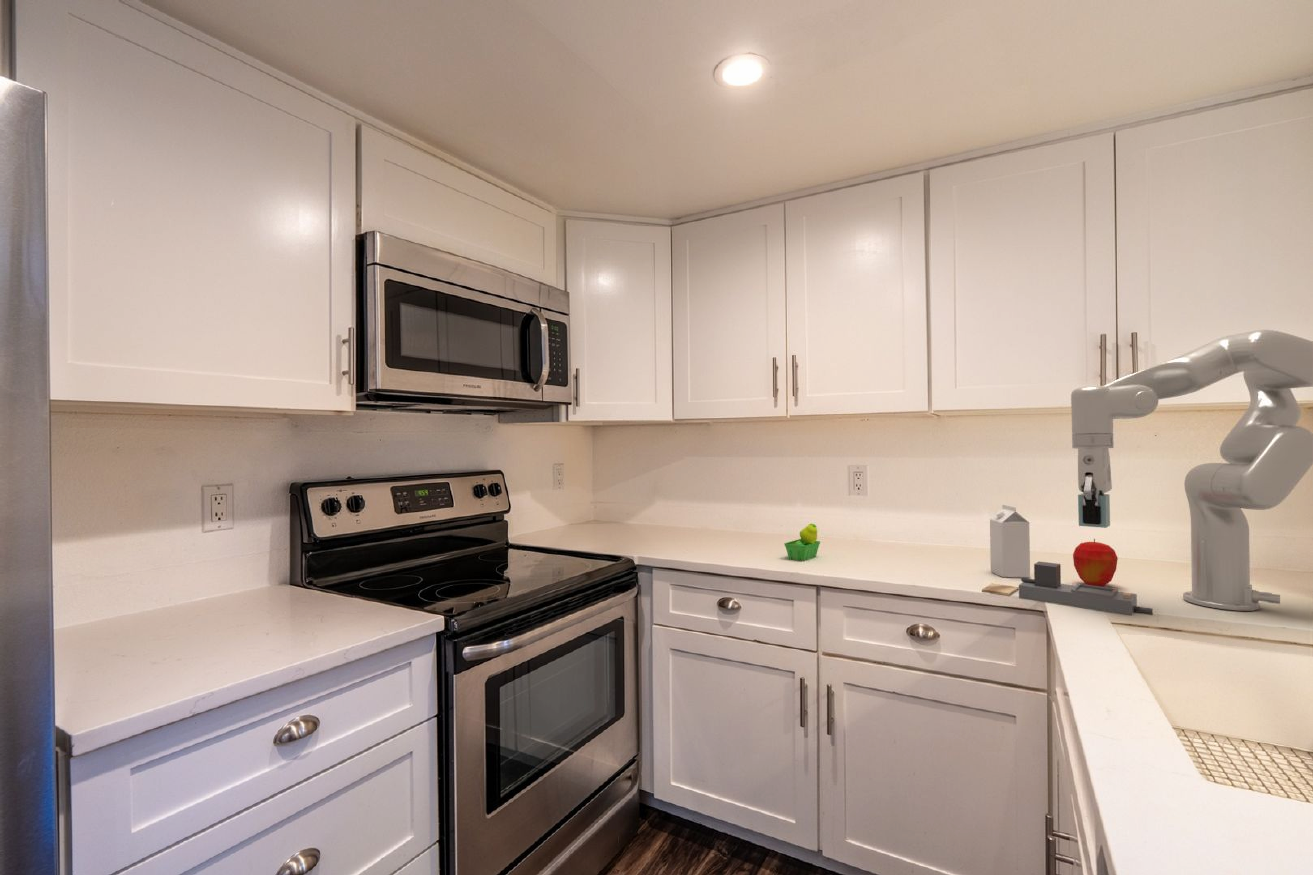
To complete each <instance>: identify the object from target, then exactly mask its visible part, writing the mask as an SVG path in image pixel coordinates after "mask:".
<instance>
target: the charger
mask: <svg viewBox="0 0 1313 875" xmlns="http://www.w3.org/2000/svg"><path fill="white" fill-rule="evenodd" d="M1094 496H1095V495H1094ZM1110 500H1111V498H1110V494H1108V493H1106V494H1105V493H1104V494H1099V506H1101V524H1099V525H1098V524H1085V523H1083V508H1082V506H1083V492H1081V493H1079V494H1078V495H1077V501H1078V502H1077V504H1078V505H1077V508H1078V527H1090V528H1103V529H1105V528H1108V527H1111V504H1110Z"/></svg>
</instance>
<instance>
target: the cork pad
mask: <svg viewBox="0 0 1313 875" xmlns="http://www.w3.org/2000/svg"><path fill="white" fill-rule="evenodd" d="M981 592H983V593H988V594H994V595H1001V596H1007V597H1010V596H1012V595H1013V594H1014V593H1016V592H1019V586H1012V585H1006V584H1000V583H991V584H988V585H986V586H985V587H983V588H982V589H981Z"/></svg>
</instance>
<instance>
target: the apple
mask: <svg viewBox="0 0 1313 875" xmlns="http://www.w3.org/2000/svg"><path fill="white" fill-rule="evenodd" d="M1118 559H1119V557H1118V555H1117V553H1116V551H1115V549H1113V548H1112V547H1111V546H1110V545H1108V544H1106V543H1102V542H1099V541H1097V542H1096V538H1093V541H1085V542H1080V543H1079V544H1078V545H1077V546H1076V547H1075V549H1074V551H1073V554H1072V560H1073V566H1074V569H1075V571H1076V573H1077V575H1078V577H1079V578H1080V580H1081V581H1082V582H1084V584H1085V585H1092V586H1099V587H1105V586H1106V585H1107V584H1109V583H1110V582H1112V580H1113V578H1114V575H1115V573H1116V571H1117V565H1118Z"/></svg>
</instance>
